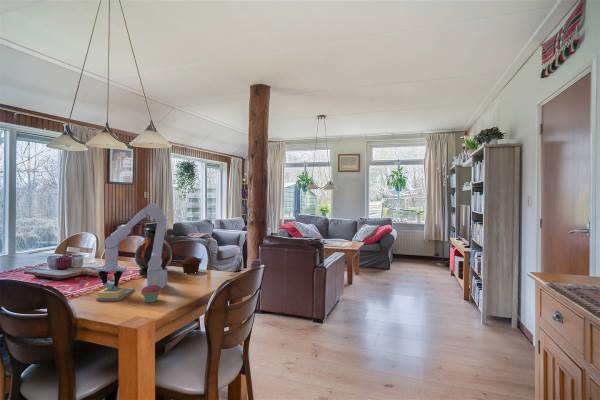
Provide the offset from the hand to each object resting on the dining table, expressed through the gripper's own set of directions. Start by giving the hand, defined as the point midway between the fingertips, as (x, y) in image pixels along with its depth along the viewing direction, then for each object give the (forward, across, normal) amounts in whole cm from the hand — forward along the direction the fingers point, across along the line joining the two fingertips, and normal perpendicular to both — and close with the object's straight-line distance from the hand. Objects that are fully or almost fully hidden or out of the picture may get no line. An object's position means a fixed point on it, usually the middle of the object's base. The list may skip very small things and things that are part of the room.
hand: (110, 285), depth 162 cm
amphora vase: (+2, -8, -37) cm, 38 cm away
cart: (+2, 0, 0) cm, 2 cm away
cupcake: (+2, -27, +19) cm, 33 cm away
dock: (+1, -8, +11) cm, 14 cm away
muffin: (+2, -31, -38) cm, 49 cm away
